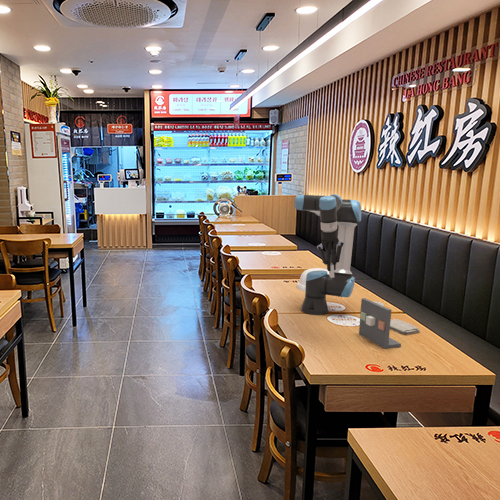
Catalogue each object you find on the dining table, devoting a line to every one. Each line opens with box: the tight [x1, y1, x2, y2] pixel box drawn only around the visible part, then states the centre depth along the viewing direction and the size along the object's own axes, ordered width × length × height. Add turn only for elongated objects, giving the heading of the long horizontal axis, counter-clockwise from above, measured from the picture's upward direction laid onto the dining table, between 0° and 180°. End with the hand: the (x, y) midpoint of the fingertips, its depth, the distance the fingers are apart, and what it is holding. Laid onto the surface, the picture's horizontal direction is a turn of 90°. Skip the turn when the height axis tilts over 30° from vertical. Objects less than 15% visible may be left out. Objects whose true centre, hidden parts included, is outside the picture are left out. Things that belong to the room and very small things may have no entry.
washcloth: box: [390, 318, 420, 336], centre depth 226 cm, size 12×18×3 cm, turn 28°
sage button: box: [359, 311, 367, 321], centre depth 212 cm, size 4×4×4 cm
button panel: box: [358, 298, 402, 350], centre depth 207 cm, size 20×9×18 cm, turn 20°
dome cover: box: [296, 267, 329, 292], centre depth 305 cm, size 32×30×14 cm
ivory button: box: [366, 316, 376, 326], centre depth 205 cm, size 4×4×4 cm
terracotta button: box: [378, 320, 385, 331], centre depth 199 cm, size 4×4×4 cm
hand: (331, 276), depth 211 cm, fingers closed
